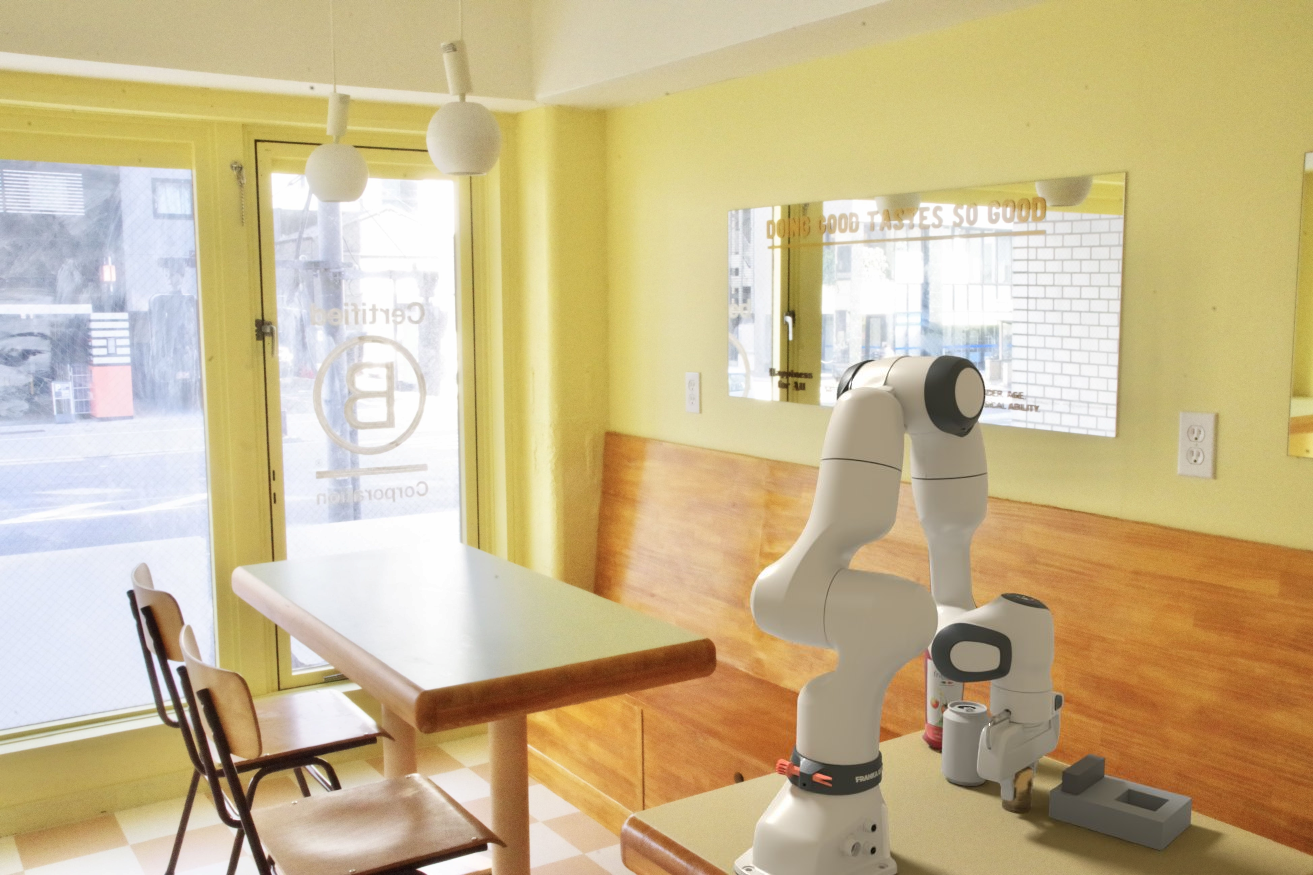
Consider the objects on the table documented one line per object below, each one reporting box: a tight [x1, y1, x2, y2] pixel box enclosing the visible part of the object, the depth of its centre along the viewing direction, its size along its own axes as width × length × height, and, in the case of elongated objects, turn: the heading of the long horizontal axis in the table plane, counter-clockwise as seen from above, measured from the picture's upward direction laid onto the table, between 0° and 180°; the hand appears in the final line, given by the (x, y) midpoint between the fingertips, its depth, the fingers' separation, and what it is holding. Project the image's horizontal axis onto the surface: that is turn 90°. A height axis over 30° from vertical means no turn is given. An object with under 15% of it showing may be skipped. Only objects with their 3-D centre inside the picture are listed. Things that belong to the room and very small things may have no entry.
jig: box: [1048, 753, 1193, 851], centre depth 165 cm, size 12×16×7 cm
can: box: [940, 700, 993, 787], centre depth 181 cm, size 8×8×12 cm
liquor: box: [921, 649, 965, 751], centre depth 195 cm, size 7×7×28 cm
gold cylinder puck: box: [1001, 766, 1034, 814], centre depth 170 cm, size 4×4×6 cm
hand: (1016, 793), depth 170 cm, fingers closed on gold cylinder puck, 4 cm apart
